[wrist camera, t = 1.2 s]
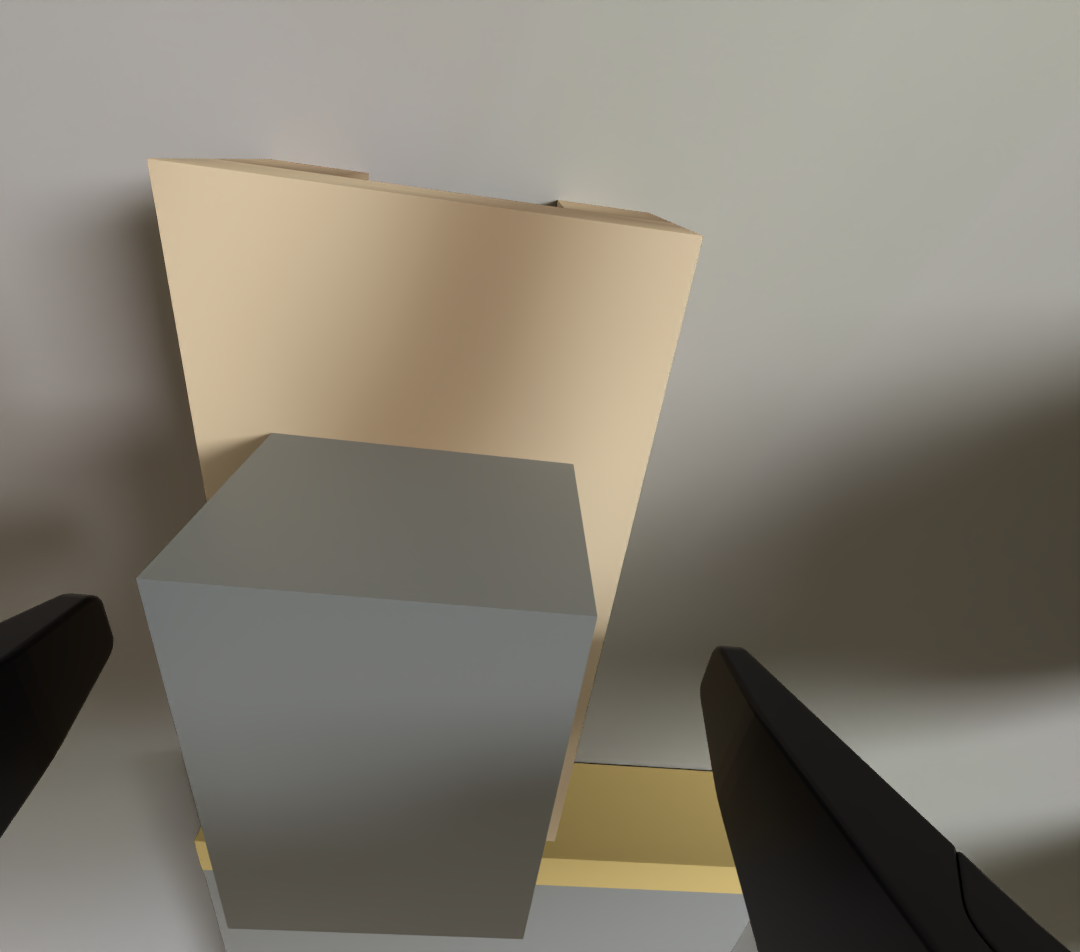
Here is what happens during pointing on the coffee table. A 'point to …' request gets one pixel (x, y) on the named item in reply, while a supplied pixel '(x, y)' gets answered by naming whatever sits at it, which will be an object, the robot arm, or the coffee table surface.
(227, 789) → the gray rectangular block
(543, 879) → the dock
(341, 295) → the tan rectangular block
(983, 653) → the coffee table surface
